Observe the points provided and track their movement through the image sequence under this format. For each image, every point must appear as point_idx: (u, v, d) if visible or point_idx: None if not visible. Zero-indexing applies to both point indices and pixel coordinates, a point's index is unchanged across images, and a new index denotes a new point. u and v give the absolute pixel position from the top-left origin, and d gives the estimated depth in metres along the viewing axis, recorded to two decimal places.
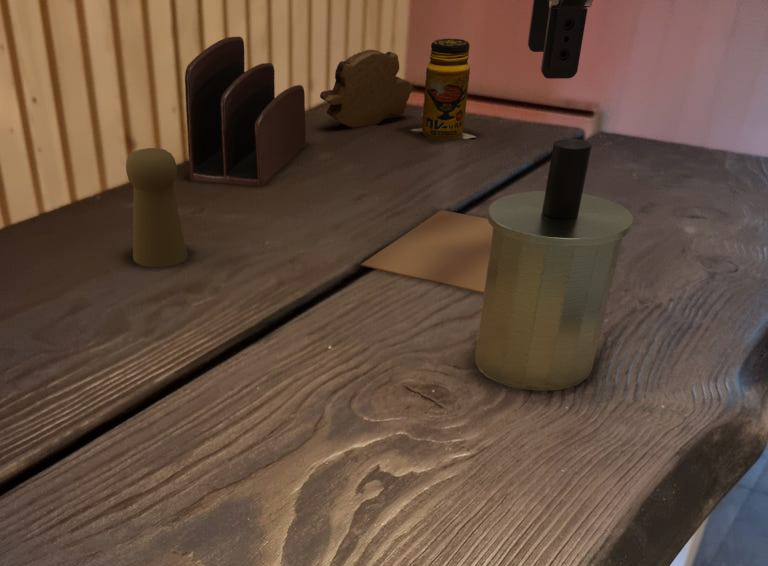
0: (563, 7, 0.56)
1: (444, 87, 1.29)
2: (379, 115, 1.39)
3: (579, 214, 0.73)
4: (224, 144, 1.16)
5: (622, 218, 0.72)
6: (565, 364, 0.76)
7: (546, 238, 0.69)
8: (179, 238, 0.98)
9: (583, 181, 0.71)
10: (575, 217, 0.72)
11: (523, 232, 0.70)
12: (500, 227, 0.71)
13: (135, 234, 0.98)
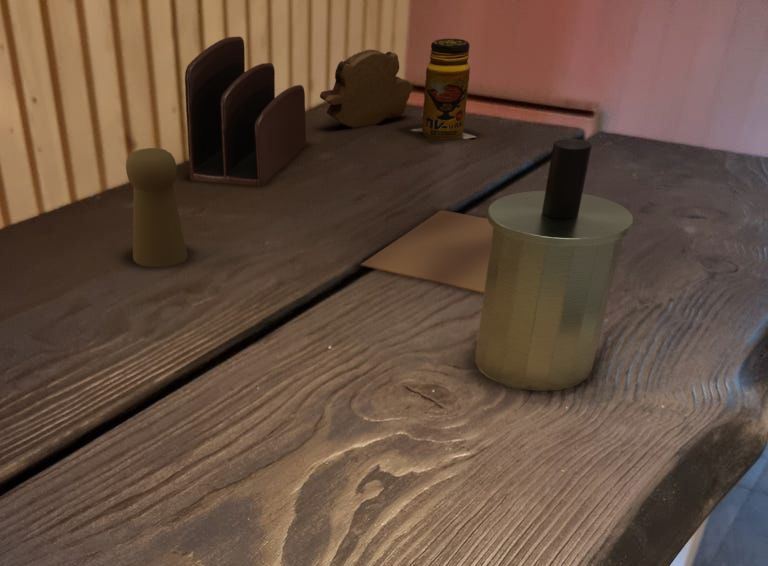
0: None
1: (444, 87, 1.29)
2: (379, 115, 1.39)
3: (579, 214, 0.73)
4: (224, 144, 1.16)
5: (622, 218, 0.72)
6: (565, 364, 0.76)
7: (546, 238, 0.69)
8: (179, 238, 0.98)
9: (583, 181, 0.71)
10: (575, 217, 0.72)
11: (523, 232, 0.70)
12: (500, 227, 0.71)
13: (135, 234, 0.98)
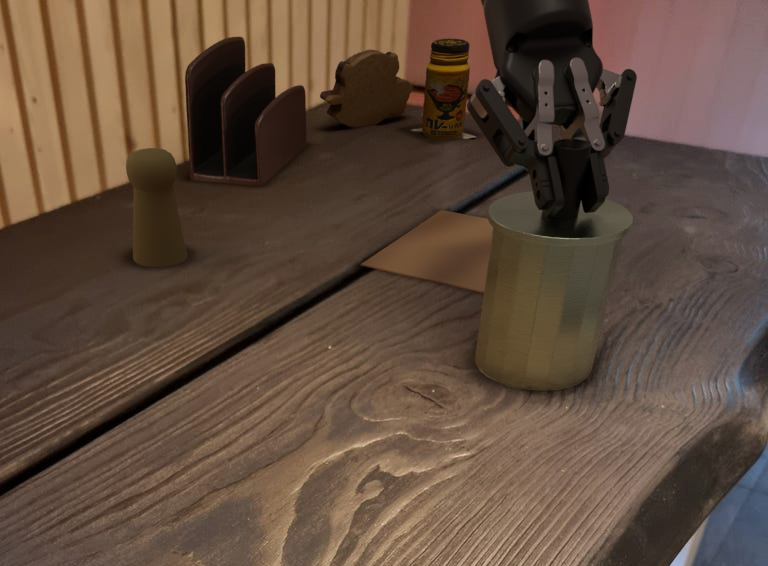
0: (527, 167, 0.71)
1: (444, 87, 1.29)
2: (379, 115, 1.39)
3: (579, 214, 0.73)
4: (224, 144, 1.16)
5: (622, 217, 0.72)
6: (565, 364, 0.76)
7: (546, 238, 0.69)
8: (179, 238, 0.98)
9: (583, 181, 0.71)
10: (575, 217, 0.72)
11: (523, 232, 0.70)
12: (500, 227, 0.71)
13: (135, 234, 0.98)
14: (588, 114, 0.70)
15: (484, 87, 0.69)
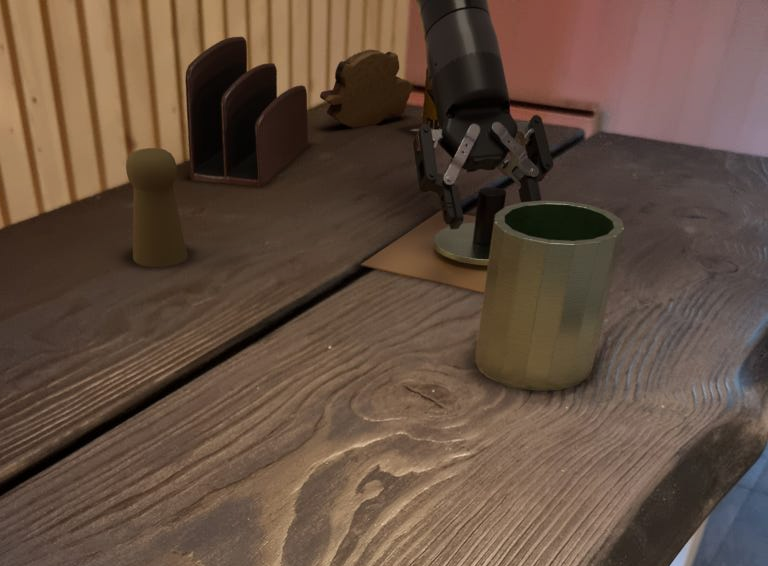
0: (437, 192, 0.97)
1: None
2: (379, 115, 1.39)
3: None
4: (224, 144, 1.16)
5: None
6: (565, 364, 0.76)
7: (473, 259, 0.96)
8: (179, 238, 0.98)
9: None
10: None
11: (457, 255, 0.97)
12: (441, 250, 0.98)
13: (135, 234, 0.98)
14: (519, 156, 0.96)
15: (424, 129, 0.95)
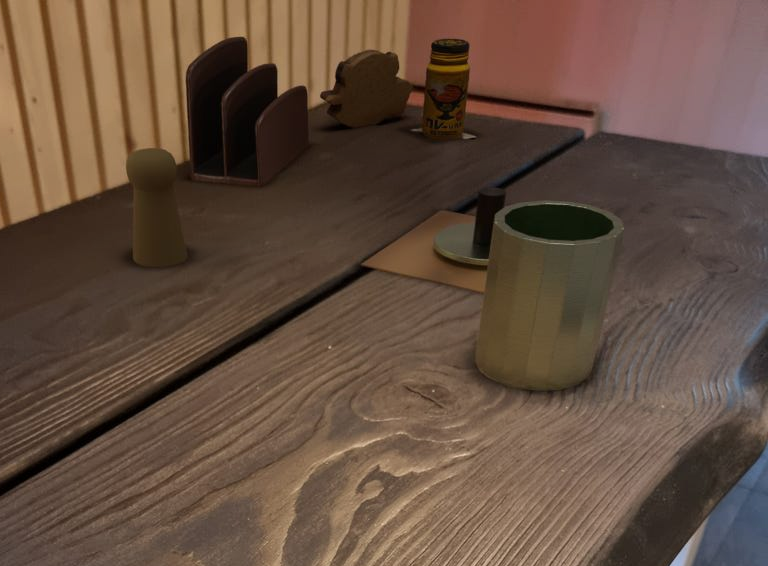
0: None
1: (444, 87, 1.29)
2: (379, 115, 1.39)
3: None
4: (225, 144, 1.16)
5: None
6: (565, 364, 0.76)
7: (473, 259, 0.96)
8: (179, 238, 0.98)
9: None
10: None
11: (457, 255, 0.97)
12: (441, 250, 0.98)
13: (135, 234, 0.98)
14: None
15: None
